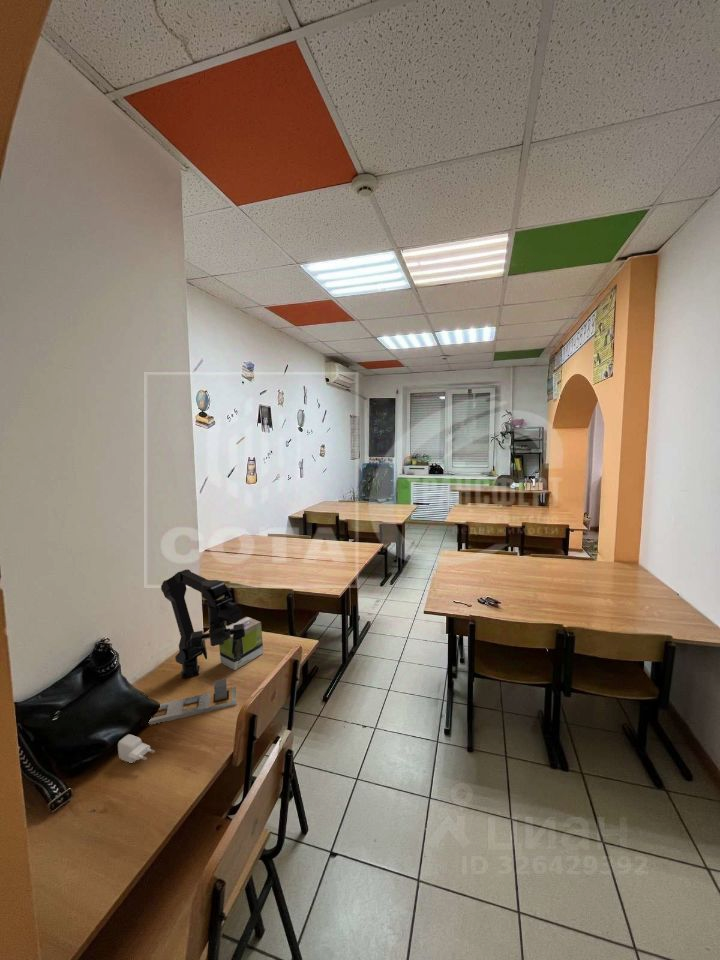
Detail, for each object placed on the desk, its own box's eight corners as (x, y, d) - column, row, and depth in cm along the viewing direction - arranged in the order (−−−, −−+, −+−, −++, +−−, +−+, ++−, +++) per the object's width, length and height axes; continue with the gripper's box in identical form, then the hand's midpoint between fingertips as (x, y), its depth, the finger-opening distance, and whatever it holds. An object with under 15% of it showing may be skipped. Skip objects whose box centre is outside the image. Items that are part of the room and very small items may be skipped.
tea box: (249, 646, 170) (247, 615, 169) (263, 653, 164) (262, 621, 163) (219, 663, 158) (217, 629, 156) (234, 671, 152) (232, 636, 151)
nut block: (215, 698, 136) (214, 680, 136) (227, 696, 138) (226, 678, 137) (215, 706, 133) (214, 687, 132) (227, 703, 134) (226, 685, 133)
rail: (145, 711, 131) (144, 706, 131) (235, 690, 141) (235, 686, 140) (140, 727, 123) (139, 723, 123) (236, 704, 133) (236, 700, 133)
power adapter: (158, 759, 111) (156, 741, 110) (143, 773, 106) (141, 754, 106) (131, 748, 115) (130, 731, 114) (116, 761, 111) (114, 743, 110)
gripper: (187, 631, 129) (190, 674, 131) (244, 621, 135) (246, 662, 137) (190, 617, 139) (193, 656, 141) (243, 608, 145) (245, 646, 147)
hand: (219, 656), depth 141 cm, fingers open, 9 cm apart
